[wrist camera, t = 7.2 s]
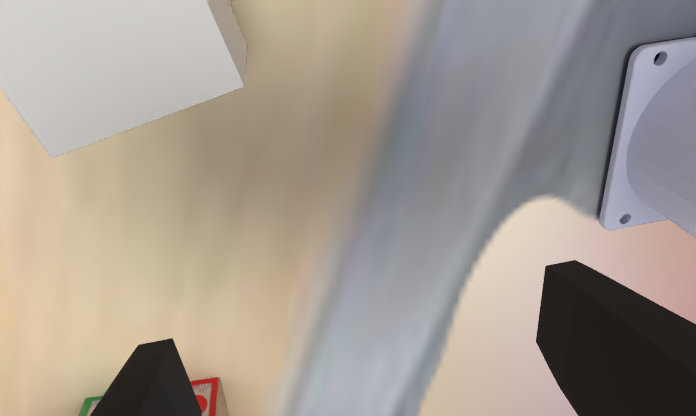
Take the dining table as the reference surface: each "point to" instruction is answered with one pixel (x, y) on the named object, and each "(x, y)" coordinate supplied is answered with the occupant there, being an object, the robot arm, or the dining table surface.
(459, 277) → the dining table surface
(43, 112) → the grey cube
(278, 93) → the dining table surface
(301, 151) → the dining table surface
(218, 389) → the stack of blocks
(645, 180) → the robot arm
